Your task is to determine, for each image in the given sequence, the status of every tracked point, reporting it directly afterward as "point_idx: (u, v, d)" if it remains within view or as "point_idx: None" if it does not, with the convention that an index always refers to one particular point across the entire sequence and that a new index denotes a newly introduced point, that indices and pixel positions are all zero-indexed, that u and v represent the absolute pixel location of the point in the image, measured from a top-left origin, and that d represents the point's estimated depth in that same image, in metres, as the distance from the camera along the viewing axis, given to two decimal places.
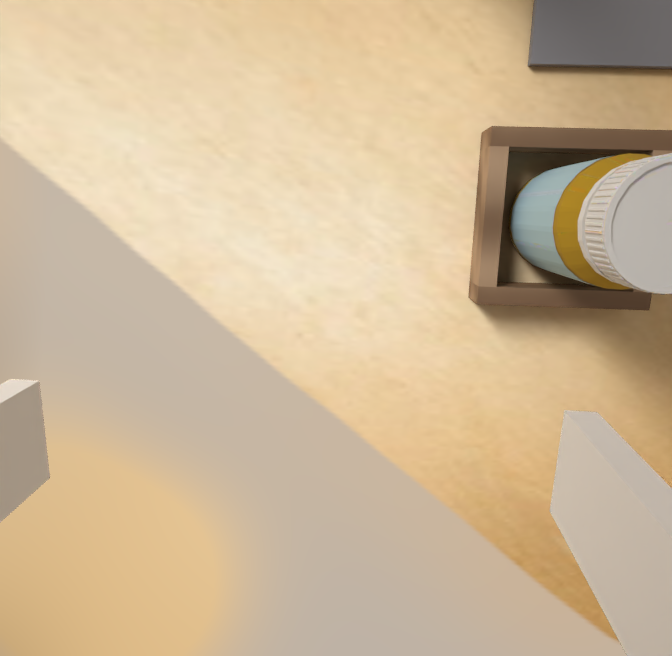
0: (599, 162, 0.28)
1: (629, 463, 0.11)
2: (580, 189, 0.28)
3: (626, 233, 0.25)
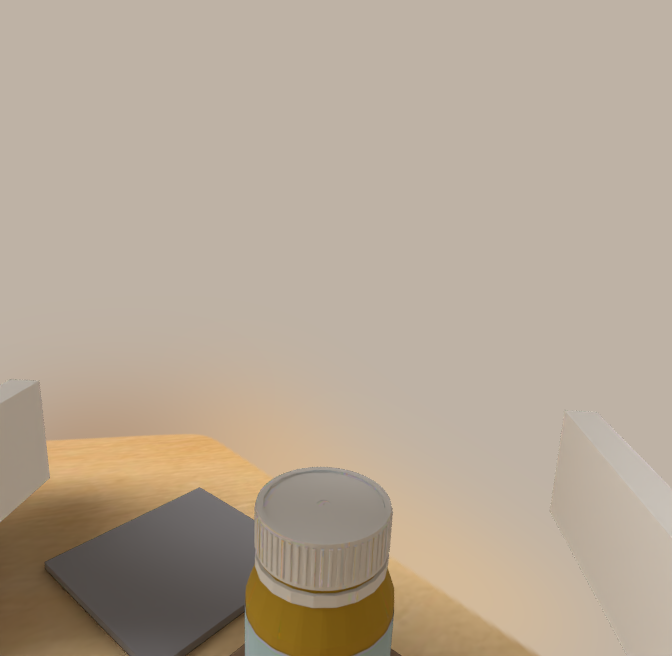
0: None
1: (629, 463, 0.11)
2: (253, 589, 0.25)
3: (301, 527, 0.23)
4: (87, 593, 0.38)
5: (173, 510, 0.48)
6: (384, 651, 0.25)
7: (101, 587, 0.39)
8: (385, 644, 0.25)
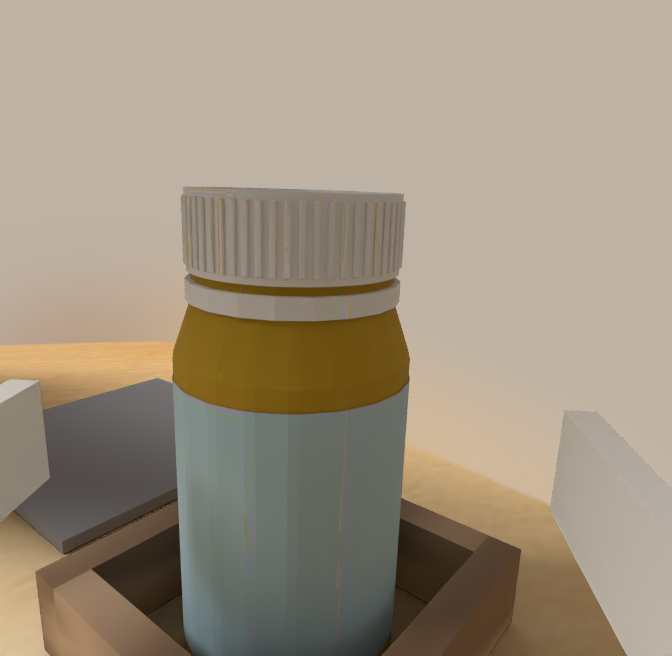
0: None
1: (629, 463, 0.11)
2: (182, 332, 0.15)
3: None
4: None
5: (122, 396, 0.38)
6: (396, 429, 0.15)
7: None
8: (397, 417, 0.15)
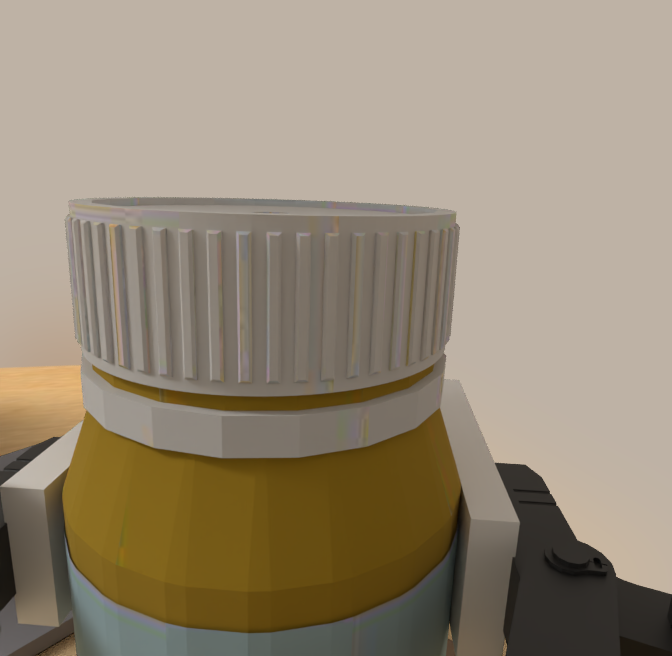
0: None
1: (459, 417, 0.12)
2: (77, 445, 0.09)
3: None
4: None
5: None
6: (441, 612, 0.09)
7: None
8: (444, 592, 0.09)
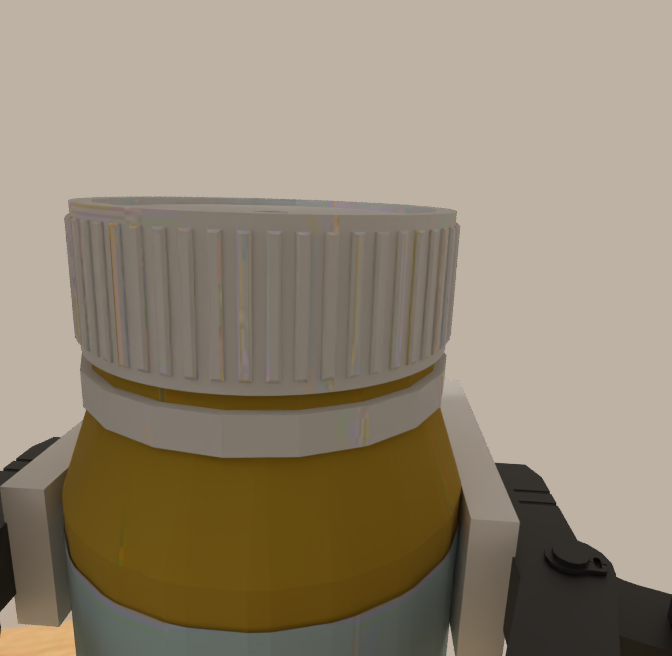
0: None
1: (459, 417, 0.12)
2: (77, 445, 0.09)
3: None
4: None
5: None
6: (441, 612, 0.09)
7: None
8: (444, 592, 0.09)
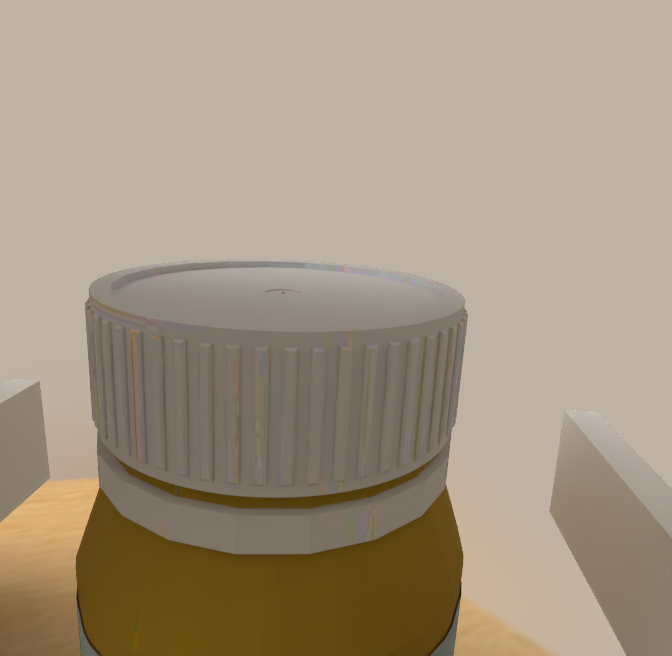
0: None
1: (629, 463, 0.11)
2: (91, 517, 0.09)
3: (205, 314, 0.08)
4: None
5: None
6: None
7: None
8: None
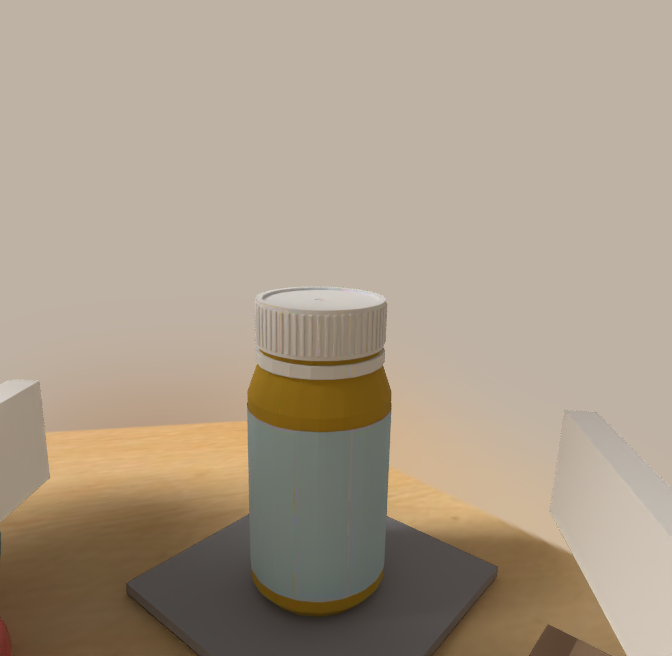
0: None
1: (629, 463, 0.11)
2: (254, 382, 0.26)
3: (298, 307, 0.24)
4: (199, 628, 0.26)
5: None
6: (382, 440, 0.26)
7: (217, 619, 0.26)
8: (383, 433, 0.25)
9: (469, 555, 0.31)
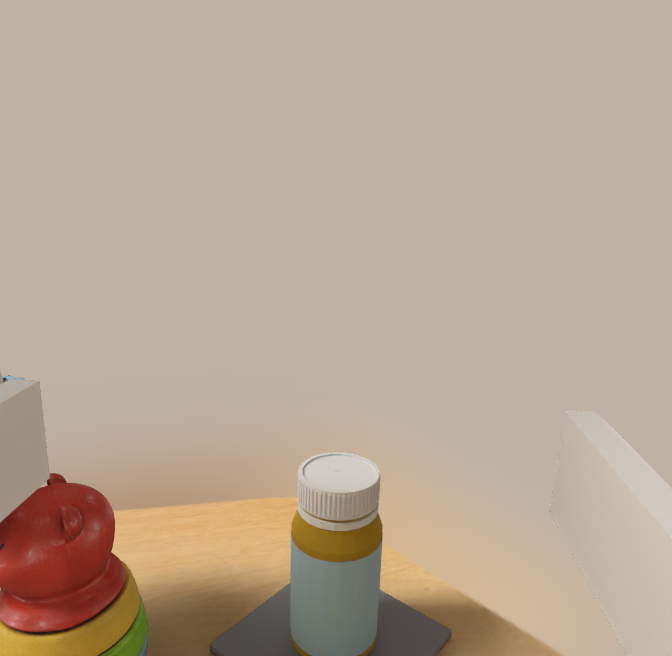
0: (293, 519, 0.43)
1: (629, 463, 0.11)
2: (297, 524, 0.41)
3: (326, 484, 0.40)
4: None
5: None
6: (376, 561, 0.41)
7: None
8: (377, 557, 0.41)
9: (433, 621, 0.47)
